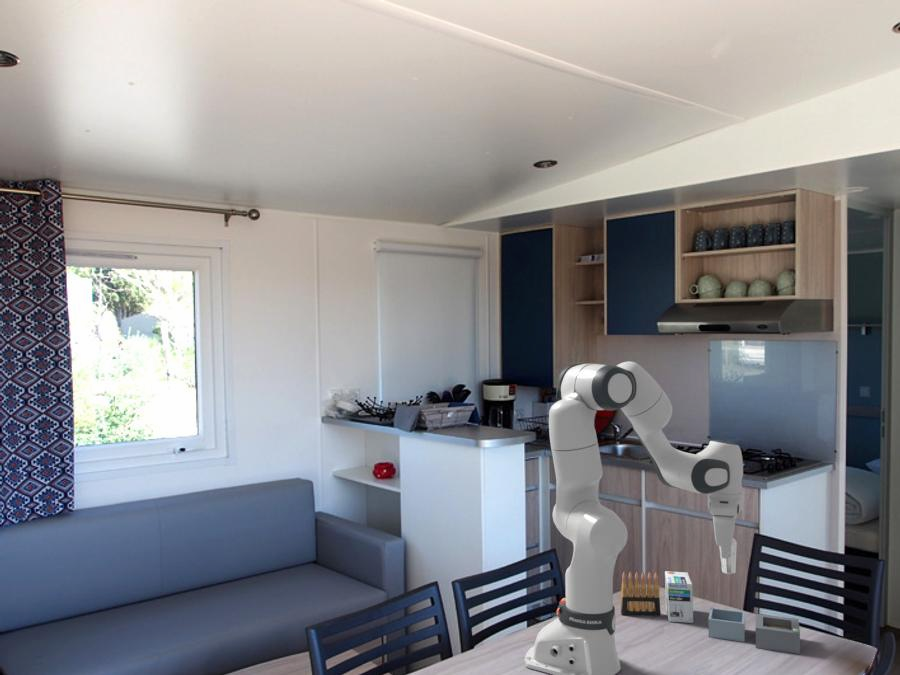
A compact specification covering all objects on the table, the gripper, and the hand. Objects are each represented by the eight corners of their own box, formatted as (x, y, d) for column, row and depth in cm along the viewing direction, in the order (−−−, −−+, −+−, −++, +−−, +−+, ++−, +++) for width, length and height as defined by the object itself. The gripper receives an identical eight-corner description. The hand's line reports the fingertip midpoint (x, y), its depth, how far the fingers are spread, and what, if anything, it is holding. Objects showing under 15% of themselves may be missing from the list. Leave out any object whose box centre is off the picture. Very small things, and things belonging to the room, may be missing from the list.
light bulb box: (693, 623, 198) (693, 584, 198) (668, 622, 200) (667, 582, 200) (689, 609, 209) (688, 571, 209) (664, 608, 210) (664, 570, 210)
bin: (708, 636, 189) (708, 619, 189) (711, 624, 197) (710, 607, 197) (744, 641, 186) (744, 623, 186) (745, 629, 194) (745, 612, 194)
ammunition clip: (621, 615, 205) (621, 572, 205) (620, 612, 207) (620, 570, 207) (660, 616, 204) (660, 573, 204) (659, 613, 206) (658, 571, 206)
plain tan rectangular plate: (764, 636, 183) (764, 633, 183) (764, 627, 189) (764, 624, 189) (790, 640, 181) (790, 636, 181) (790, 631, 187) (790, 627, 187)
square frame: (755, 647, 182) (755, 625, 182) (756, 632, 192) (756, 611, 192) (800, 654, 178) (799, 631, 178) (798, 638, 188) (798, 616, 188)
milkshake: (716, 569, 194) (714, 531, 195) (737, 570, 193) (736, 532, 193) (716, 573, 190) (714, 535, 190) (738, 575, 188) (737, 536, 189)
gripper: (715, 493, 202) (715, 543, 202) (709, 509, 184) (710, 564, 184) (739, 494, 200) (740, 545, 200) (736, 511, 181) (737, 567, 181)
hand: (725, 554), depth 192 cm, fingers closed on milkshake, 4 cm apart
